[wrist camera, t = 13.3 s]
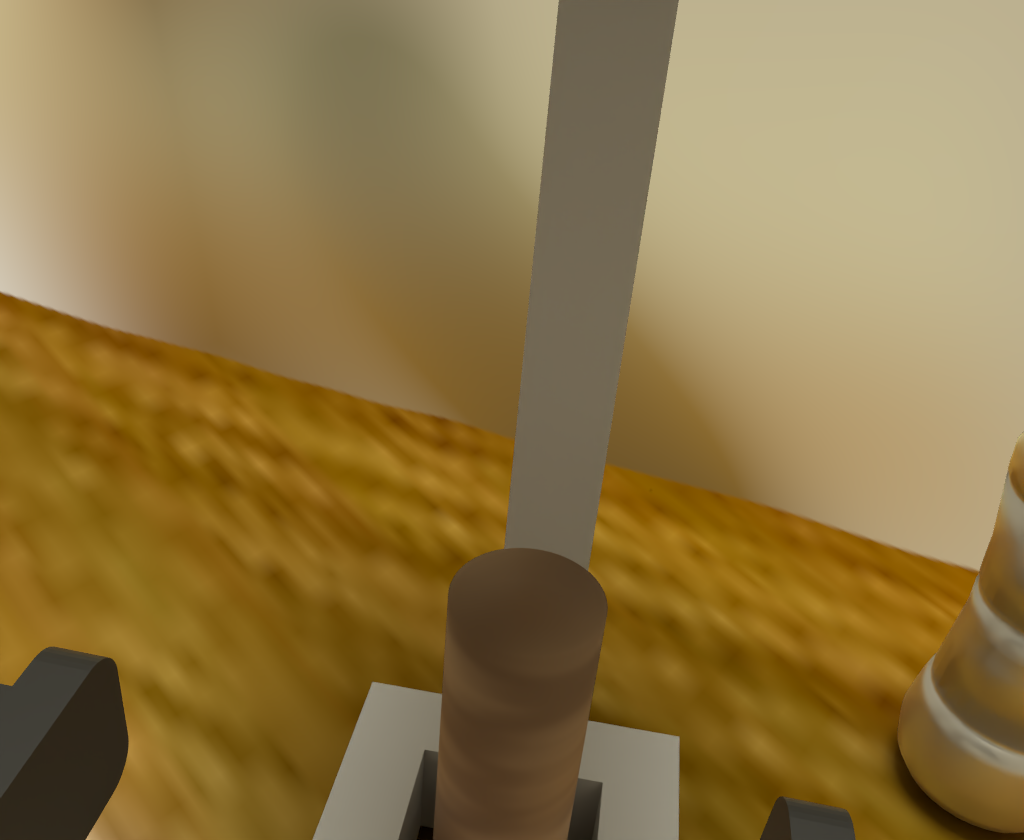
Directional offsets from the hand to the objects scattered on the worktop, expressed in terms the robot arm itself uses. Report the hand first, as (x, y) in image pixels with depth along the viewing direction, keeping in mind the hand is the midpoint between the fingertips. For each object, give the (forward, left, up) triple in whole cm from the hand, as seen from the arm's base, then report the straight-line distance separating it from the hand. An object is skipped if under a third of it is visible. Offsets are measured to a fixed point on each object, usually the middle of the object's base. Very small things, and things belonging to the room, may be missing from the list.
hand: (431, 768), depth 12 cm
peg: (-4, +10, -21) cm, 23 cm away
